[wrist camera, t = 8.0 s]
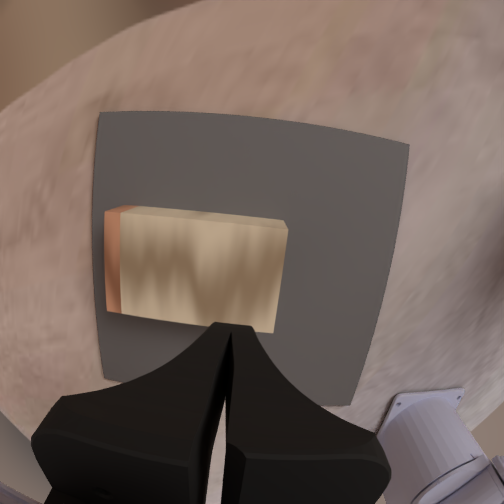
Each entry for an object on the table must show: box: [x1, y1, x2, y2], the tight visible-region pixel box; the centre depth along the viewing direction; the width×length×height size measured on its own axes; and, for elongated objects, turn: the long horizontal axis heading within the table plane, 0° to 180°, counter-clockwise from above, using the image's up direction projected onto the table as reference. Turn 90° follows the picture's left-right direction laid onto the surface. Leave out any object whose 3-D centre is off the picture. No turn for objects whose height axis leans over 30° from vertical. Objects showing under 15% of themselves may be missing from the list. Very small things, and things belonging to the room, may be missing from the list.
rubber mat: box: [92, 111, 410, 405], centre depth 21 cm, size 20×20×1 cm
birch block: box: [104, 205, 288, 333], centre depth 19 cm, size 6×3×10 cm
